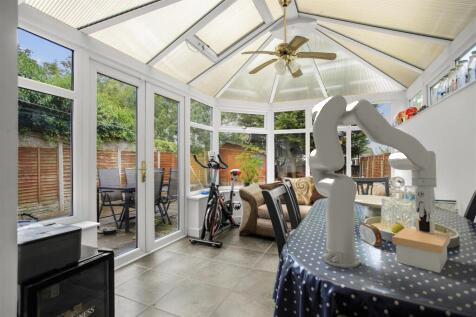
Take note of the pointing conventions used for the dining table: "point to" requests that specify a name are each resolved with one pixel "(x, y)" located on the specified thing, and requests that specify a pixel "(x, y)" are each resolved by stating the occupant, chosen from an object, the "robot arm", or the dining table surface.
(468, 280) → the dining table surface
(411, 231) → the lid
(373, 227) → the tin
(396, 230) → the lemon
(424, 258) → the tub
